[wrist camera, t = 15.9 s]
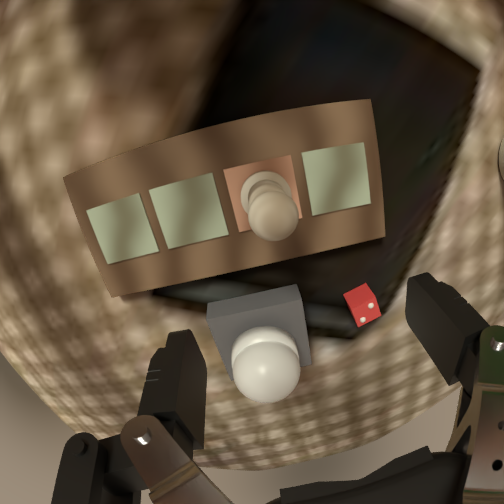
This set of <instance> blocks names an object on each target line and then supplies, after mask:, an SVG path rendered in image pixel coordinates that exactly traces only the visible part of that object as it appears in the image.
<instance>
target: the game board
mask: <svg viewBox="0 0 504 504" xmlns="http://www.w3.org/2000/svg"><path fill="white" fill-rule="evenodd" d="M263 170H268V171H273V172H276V173H278V174H279V175H281V176H282V177H283V178H284V179H285V181H286V182H287V183H288V185H289V187H290V189H291V195H292V199H293V201H294V202H295V204H296V206H297V208H298V212H299V220H298V224H297V226H296V229H295V230H294V232H293V233H292V234H291V235H290V236H288V237H287V238H285V239H283V240H280V241H267V240H264V239H262V238H260V237H259V236H257V235H256V234H255V233H254V231H253V230H252V229H251V227H250V224H249V220H248V214H247V213H246V212H245V210H244V208H243V206H242V203H241V188H242V185H243V183H244V182H245V180H246V179H247V178H248V177H249V176H250V175H252V174H253V173H256V172H258V171H263ZM63 180H64V183H65V186H66V189H67V192H68V194H69V197H70V200H71V203H72V206H73V208H74V211H75V214H76V217H77V219H78V222H79V224H80V227H81V229H82V232H83V234H84V237H85V239H86V242H87V244H88V247H89V249H90V251H91V254H92V256H93V258H94V261H95V263H96V265H97V267H98V270H99V272H100V274H101V276H102V278H103V280H104V282H105V285H106V287H107V289H108V291H109V293H110V295H111V297H117V296H122V295H127V294H132V293H136V292H141V291H146V290H151V289H155V288H160V287H165V286H169V285H174V284H179V283H183V282H188V281H193V280H197V279H202V278H207V277H211V276H216V275H220V274H225V273H229V272H234V271H238V270H243V269H247V268H252V267H256V266H261V265H265V264H270V263H274V262H278V261H283V260H287V259H291V258H296V257H300V256H305V255H309V254H313V253H318V252H322V251H326V250H330V249H335V248H339V247H343V246H347V245H352V244H356V243H360V242H364V241H368V240H373V239H377V238H381V237H385V222H384V205H383V192H382V180H381V170H380V161H379V152H378V144H377V137H376V130H375V123H374V117H373V111H372V105H371V99H364V100H353V101H344V102H336V103H328V104H321V105H314V106H307V107H301V108H295V109H289V110H283V111H278V112H272V113H267V114H262V115H257V116H253V117H248V118H243V119H239V120H235V121H230V122H226V123H222V124H218V125H214V126H210V127H206V128H202V129H199V130H195V131H191V132H188V133H184V134H181V135H178V136H174V137H171V138H168V139H164V140H161V141H158V142H155V143H152V144H149V145H146V146H143V147H140V148H137V149H134V150H131V151H128V152H125V153H122V154H120V155H117V156H114V157H112V158H109V159H106V160H104V161H101V162H99V163H96V164H93V165H91V166H88V167H86V168H84V169H81V170H79V171H76V172H74V173H72V174H69V175H67V176H65V177H63Z"/></svg>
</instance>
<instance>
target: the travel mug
mask: <svg viewBox="0 0 504 504" xmlns="http://www.w3.org/2000/svg"><path fill="white" fill-rule="evenodd" d="M499 168H500V173H501V176H502V178H503V180H504V138H503V140H502V142H501V146H500V150H499Z"/></svg>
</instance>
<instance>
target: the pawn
mask: <svg viewBox="0 0 504 504" xmlns="http://www.w3.org/2000/svg"><path fill="white" fill-rule="evenodd" d="M241 203H242V206H243V208H244V210H245V212H246V213H247V214H248V220H249V224H250V227H251V229H252V230H253V231H254V233H255V234H256V235H257V236H259V237H260V238H262V239H264V240H267V241H280V240H283V239H285V238H287V237H288V236H290V235H291V234H292V233H293V232H294V230H295V229H296V226H297V224H298V220H299V212H298V208H297V206H296V204H295V202H294V201H293V199H292V195H291V189H290V187H289V185H288V183H287V182H286V181H285V179H284V178H283V177H282V176H281V175H279V174H278V173H276V172H273V171H268V170H263V171H258V172H256V173H253V174H252V175H250V176H249V177H248V178H247V179H246V180H245V182H244V183H243V185H242V188H241Z"/></svg>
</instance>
